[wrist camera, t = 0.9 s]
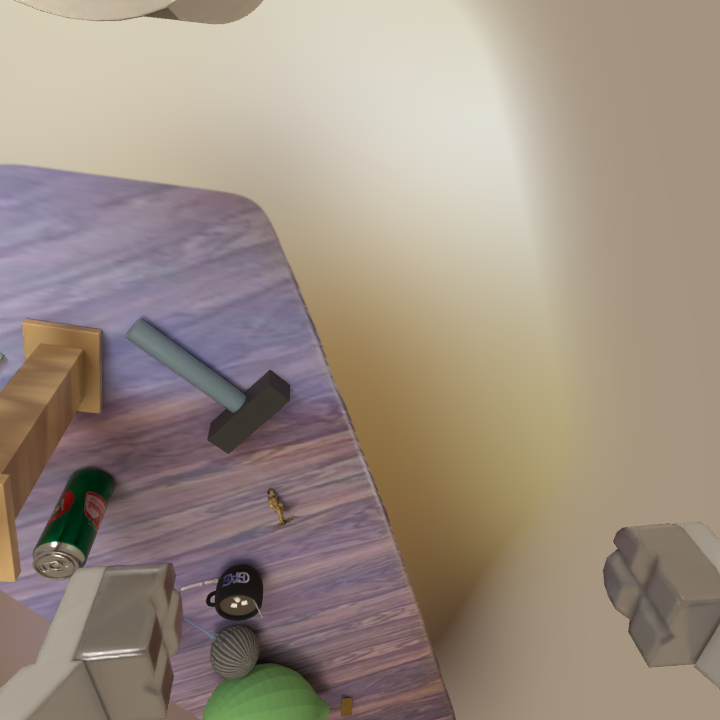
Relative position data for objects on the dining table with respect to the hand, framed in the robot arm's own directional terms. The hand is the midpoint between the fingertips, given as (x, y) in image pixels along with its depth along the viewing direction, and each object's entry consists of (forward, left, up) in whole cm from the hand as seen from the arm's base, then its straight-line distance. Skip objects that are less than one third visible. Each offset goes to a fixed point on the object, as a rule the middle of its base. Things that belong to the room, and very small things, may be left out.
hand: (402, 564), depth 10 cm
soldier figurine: (+34, +29, -41) cm, 61 cm away
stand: (+34, -2, -44) cm, 56 cm away
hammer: (+25, +8, -44) cm, 51 cm away
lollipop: (+57, +34, -38) cm, 77 cm away
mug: (+50, +31, -44) cm, 74 cm away
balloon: (+62, +71, -43) cm, 103 cm away
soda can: (+46, +9, -44) cm, 64 cm away
